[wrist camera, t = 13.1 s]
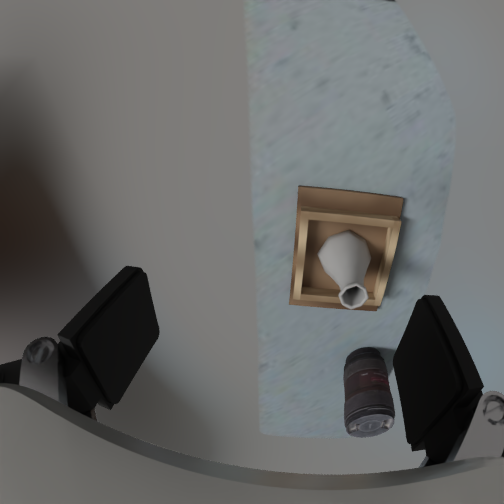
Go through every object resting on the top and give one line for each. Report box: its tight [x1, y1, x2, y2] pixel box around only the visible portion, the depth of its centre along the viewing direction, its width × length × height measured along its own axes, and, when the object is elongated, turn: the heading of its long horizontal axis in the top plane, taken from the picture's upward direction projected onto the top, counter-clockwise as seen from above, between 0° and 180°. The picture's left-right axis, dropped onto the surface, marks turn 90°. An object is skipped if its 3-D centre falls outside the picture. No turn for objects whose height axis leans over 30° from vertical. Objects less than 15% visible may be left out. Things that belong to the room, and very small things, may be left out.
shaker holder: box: [289, 186, 403, 311], centre depth 36 cm, size 18×14×3 cm
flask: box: [317, 230, 371, 309], centre depth 32 cm, size 7×7×10 cm
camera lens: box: [344, 348, 395, 438], centre depth 39 cm, size 8×8×15 cm
